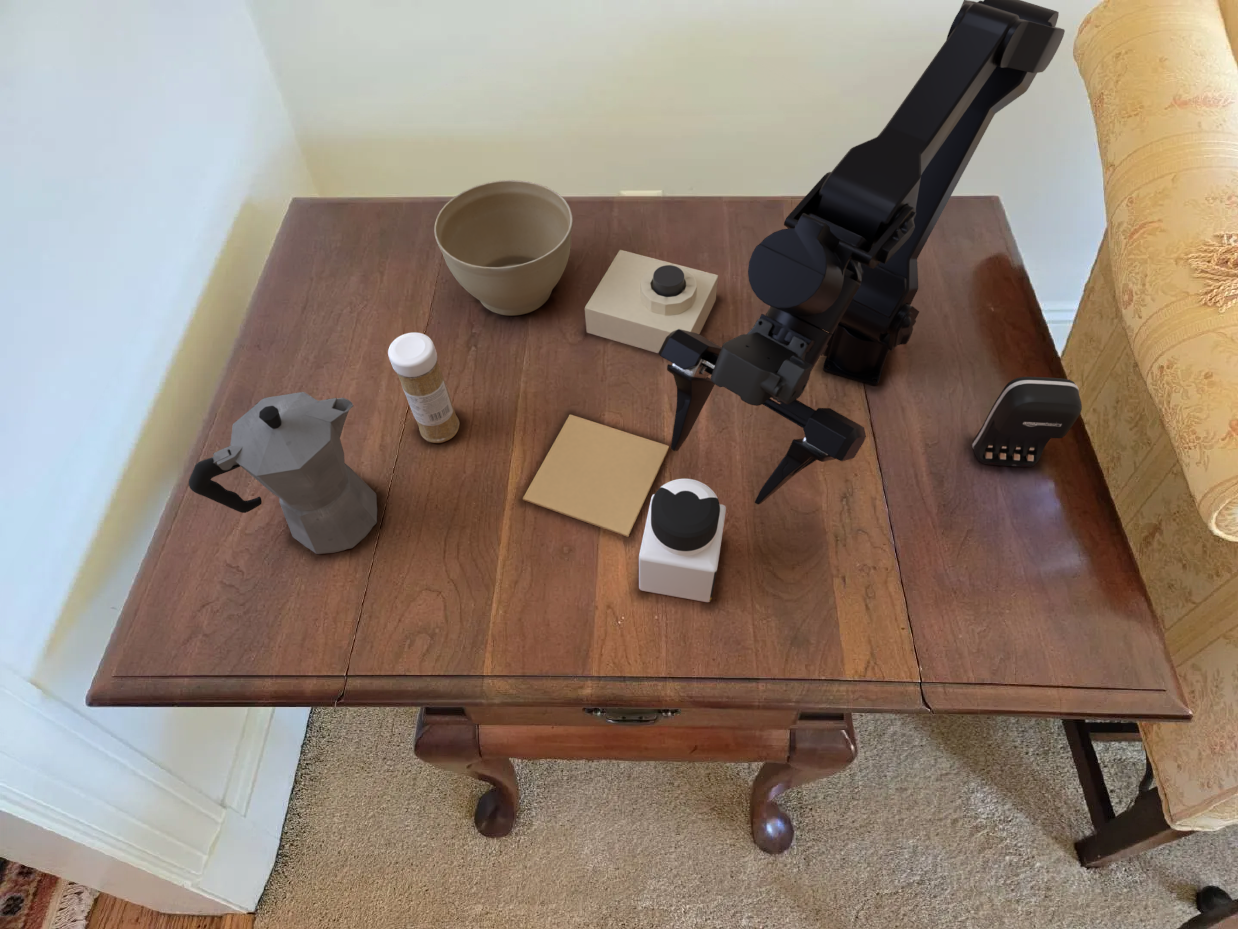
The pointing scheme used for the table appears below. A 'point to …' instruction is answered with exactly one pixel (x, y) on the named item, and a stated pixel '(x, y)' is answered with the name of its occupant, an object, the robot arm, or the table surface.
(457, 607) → the table surface
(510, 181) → the planter bowl
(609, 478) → the cork mat
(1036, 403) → the battery charger
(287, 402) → the coffeepot
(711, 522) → the medicine bottle
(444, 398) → the sprinkles bottle
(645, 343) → the push button box
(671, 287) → the power button
